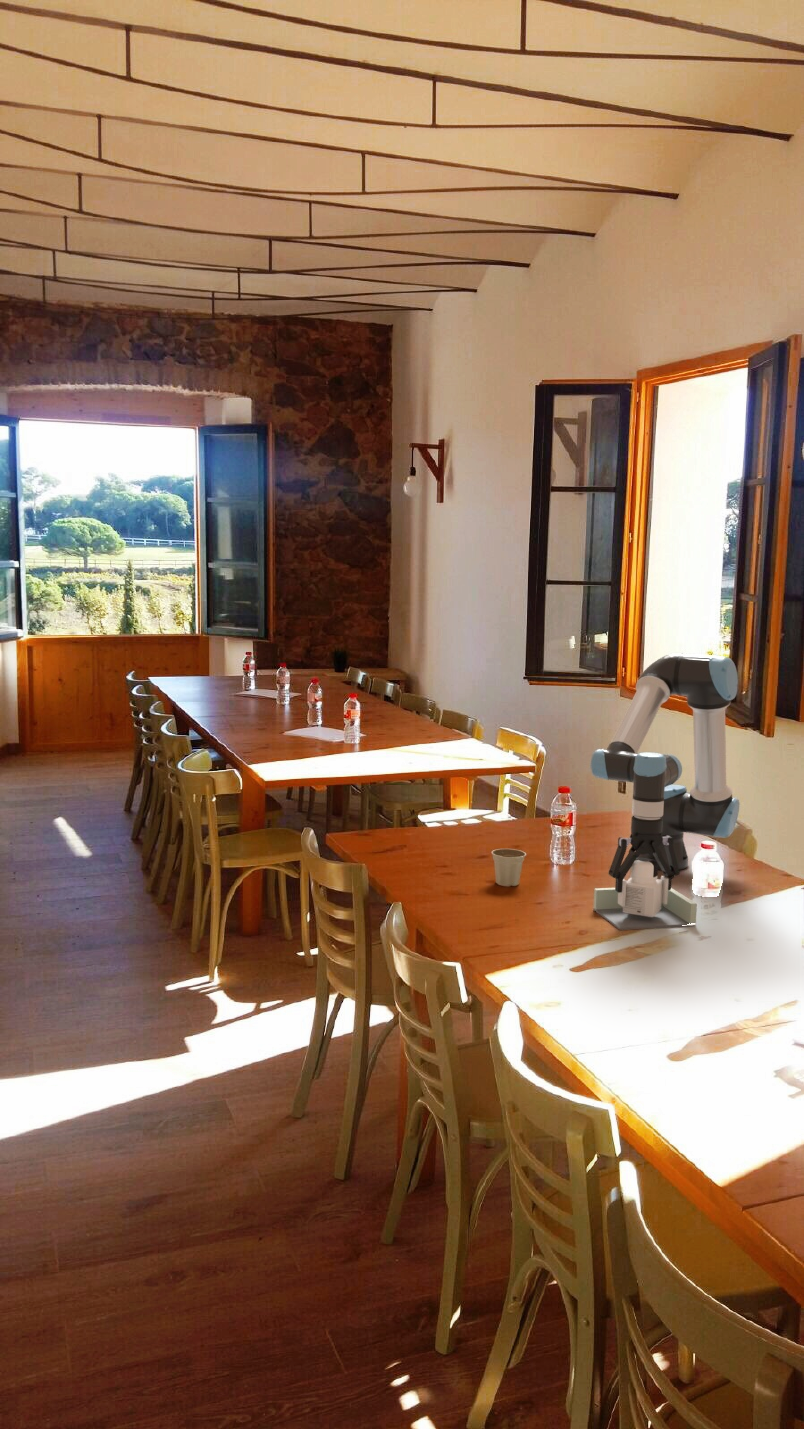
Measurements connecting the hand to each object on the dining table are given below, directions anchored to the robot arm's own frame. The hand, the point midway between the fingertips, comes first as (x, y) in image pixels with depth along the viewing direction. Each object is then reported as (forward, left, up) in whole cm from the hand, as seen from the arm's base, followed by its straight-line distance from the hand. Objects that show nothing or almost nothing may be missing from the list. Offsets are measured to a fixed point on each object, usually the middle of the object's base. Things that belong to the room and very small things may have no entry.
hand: (642, 903), depth 282 cm
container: (0, 0, -2) cm, 2 cm away
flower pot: (+23, -35, -4) cm, 42 cm away
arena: (-1, -1, -4) cm, 4 cm away
